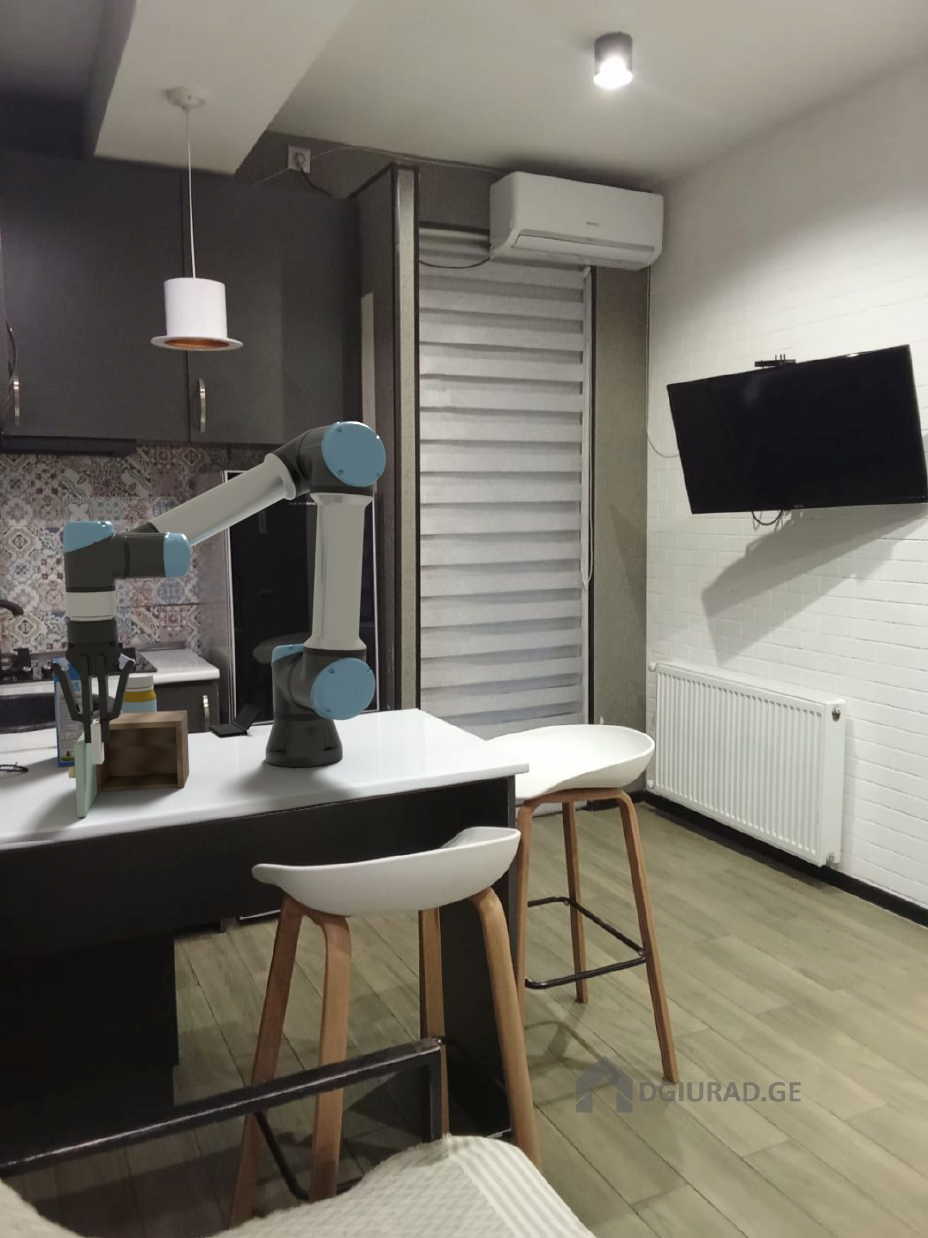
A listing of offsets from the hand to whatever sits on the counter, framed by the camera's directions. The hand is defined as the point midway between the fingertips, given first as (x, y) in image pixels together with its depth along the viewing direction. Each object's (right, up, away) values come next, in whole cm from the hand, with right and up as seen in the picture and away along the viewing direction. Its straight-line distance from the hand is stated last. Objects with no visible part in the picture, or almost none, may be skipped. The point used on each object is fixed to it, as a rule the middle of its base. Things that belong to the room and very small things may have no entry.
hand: (98, 762), depth 156 cm
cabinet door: (-4, -8, +4) cm, 9 cm away
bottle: (-9, -4, +48) cm, 49 cm away
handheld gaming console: (+7, -3, +61) cm, 62 cm away
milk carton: (-18, -5, +35) cm, 40 cm away
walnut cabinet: (+1, -6, +18) cm, 19 cm away
